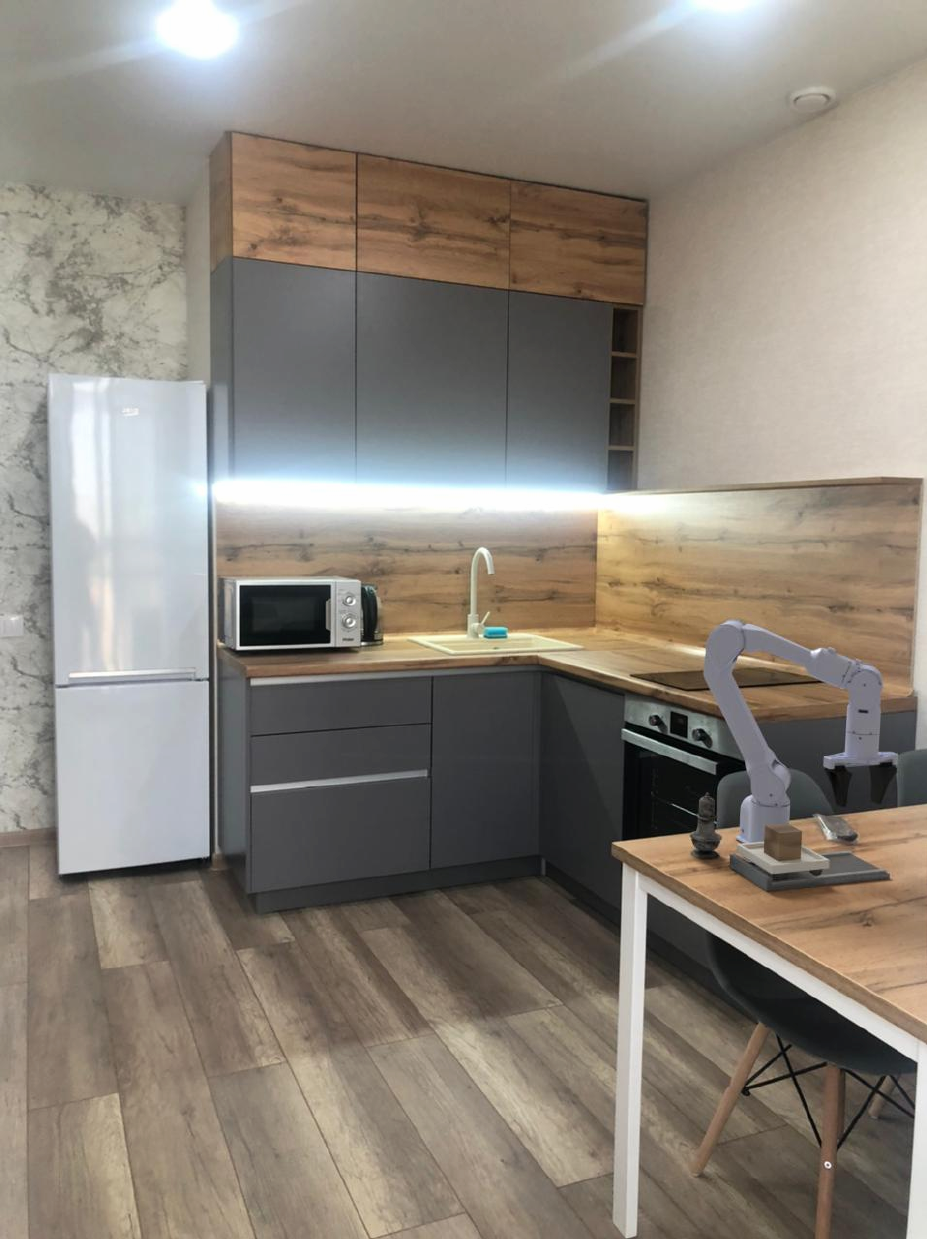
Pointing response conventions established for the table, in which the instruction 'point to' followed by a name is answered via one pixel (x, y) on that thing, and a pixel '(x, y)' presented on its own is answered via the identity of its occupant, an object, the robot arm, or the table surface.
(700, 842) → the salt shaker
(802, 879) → the dark grey tray
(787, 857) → the plain brown block
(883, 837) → the table surface
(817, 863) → the white recessed tray
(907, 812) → the table surface
